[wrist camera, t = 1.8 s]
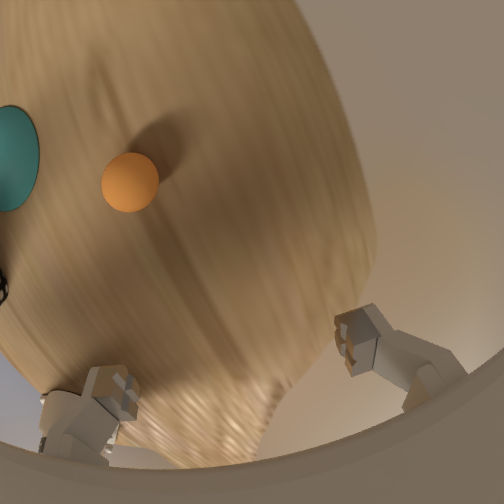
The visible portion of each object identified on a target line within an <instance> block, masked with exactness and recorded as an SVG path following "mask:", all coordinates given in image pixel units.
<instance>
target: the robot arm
mask: <svg viewBox="0 0 504 504" xmlns="http://www.w3.org/2000/svg"><path fill="white" fill-rule="evenodd" d="M334 324H335V326H336V328H337V329H336V331H335V341H336V345H337V348H338V350H339V353H340V355H341V356H343V357H345V365H346V367H347V369H348V371H349V373H350V375H351V377H353V376H356V375H359V374H362V373H365V372H367V371H370V370H373V371H374V372H376V373H377V374H379V375H380V376H382V377H383V378H385V379H387V380H388V381H390V382H392V383H393V384H395V385H396V386H398V387H400V388H401V389H403V390H405V391H406V392H408V394H407V397H406V399H405V401H404V403H403V405H402V409H403V411H404V413H402V414H400V415H398V416H396V417H393V418H392V419H389V420H387V421H385V422H383V423H380V424H378V425H376V426H373V427H371V428H368V429H366V430H363V431H361V432H358V433H356V434H353V435H350V436H347V437H345V438H343V439H339V440H336V441H333V442H330V443H327V444H324V445H320V446H317V447H314V448H310V449H307V450H303V451H299V452H295V453H292V454H287V455H283V456H278V457H274V458H269V459H264V460H259V461H253V462H247V463H240V464H233V465H226V466H217V467H206V468H191V469H134V468H119V467H109V461H108V459H106V458H105V457H104V454H105V452H108V453H112V448H113V445H112V444H115V440H116V436H117V432H118V428H119V424H120V421H135V420H137V412H138V406H137V404H136V402H137V400H138V399H139V398H140V388H139V384H138V382H137V380H136V379H135V378H134V376H132V375H130V374H128V369H127V368H126V367H125V365H121V364H120V365H109V366H99V367H92V368H91V369H90V370H89V373H88V376H87V380H86V383H85V386H84V389H83V392H82V396H79V395H76V394H73V393H70V392H66V391H52V392H50V393H49V394H48V395H46V396H41V397H40V402H41V403H42V404H43V409H42V413H41V418H40V423H39V431H40V432H41V434H42V436H43V437H42V438H41V442H40V444H39V453H36V452H32V451H29V450H25V449H22V448H19V447H16V446H13V445H10V444H7V443H5V442H2V441H0V504H504V348H503V349H502V350H500V351H499V352H498V353H497V354H496V355H494V356H493V357H492V358H490V359H489V360H488V361H486V362H485V363H484V364H483V365H481V366H480V367H479V368H477V369H476V370H474V371H473V372H471V373H470V374H469V375H468V373H467V372H466V371H465V369H464V368H463V367H462V365H461V364H460V363H459V361H458V360H457V359H456V357H455V356H454V355H453V354H452V352H451V351H450V350H448V349H445V348H443V347H440V346H438V345H435V344H433V343H430V342H428V341H425V340H423V339H420V338H418V337H415V336H413V335H410V334H408V333H405V332H403V331H400V330H396V331H394V329H393V328H392V327H391V325H390V324H389V323H388V321H387V320H386V319H385V317H384V316H383V314H382V313H381V312H380V311H379V309H378V308H377V307H376V305H375V304H373V303H371V304H368V305H365V306H363V307H360V308H357V309H354V310H351V311H348V312H345V313H342V314H339V315H336V316H335V318H334Z"/></svg>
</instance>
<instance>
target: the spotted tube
mask: <svg viewBox="0 0 504 504" xmlns="http://www.w3.org/2000/svg"><path fill="white" fill-rule="evenodd" d="M7 296H8V286H7V282H6V279H5V276H4V274H3V272H2V271H1V269H0V306H1V305H2V304H3V302H4V301H5V300H6V298H7Z"/></svg>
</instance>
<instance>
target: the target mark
mask: <svg viewBox="0 0 504 504" xmlns="http://www.w3.org/2000/svg"><path fill="white" fill-rule="evenodd" d="M38 166H39V145H38V139H37V134H36V131H35V128H34V126H33V124H32V122H31V120H30V119H29V117H28V116H27V115H26V114H25V113H24V112H23V111H22V110H20V109H18V108H15V107H3V108H0V211H11V210H14V209H16V208H18V207H19V206H20V205H21V204H23V202H24V201H25V200H26V199H27V198H28V196H29V195H30V193H31V191H32V189H33V186H34V184H35V180H36V177H37V172H38Z"/></svg>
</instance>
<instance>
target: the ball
mask: <svg viewBox="0 0 504 504" xmlns="http://www.w3.org/2000/svg"><path fill="white" fill-rule="evenodd" d="M158 186H159V176H158V172H157V169H156V167H155V165H154V164H153V162H152V161H151V160H150V159H148V158H147V157H146V156H144V155H141V154H138V153H125V154H122V155H119V156H117V157H116V158H114V159H113V160H112V161H111V162H110V163H109V164H108V165H107V167H106V169H105V170H104V173H103V176H102V181H101V187H102V192H103V195H104V197H105V199H106V201H107V202H108V203H109V204H110V205H111V206H112V207H113V208H115V209H117V210H119V211H123V212H135V211H138V210H140V209H143V208H144V207H146V206H147V205H148V204H149V203H150V202H151V201H152V200H153V198H154V197H155V195H156V193H157V190H158Z"/></svg>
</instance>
